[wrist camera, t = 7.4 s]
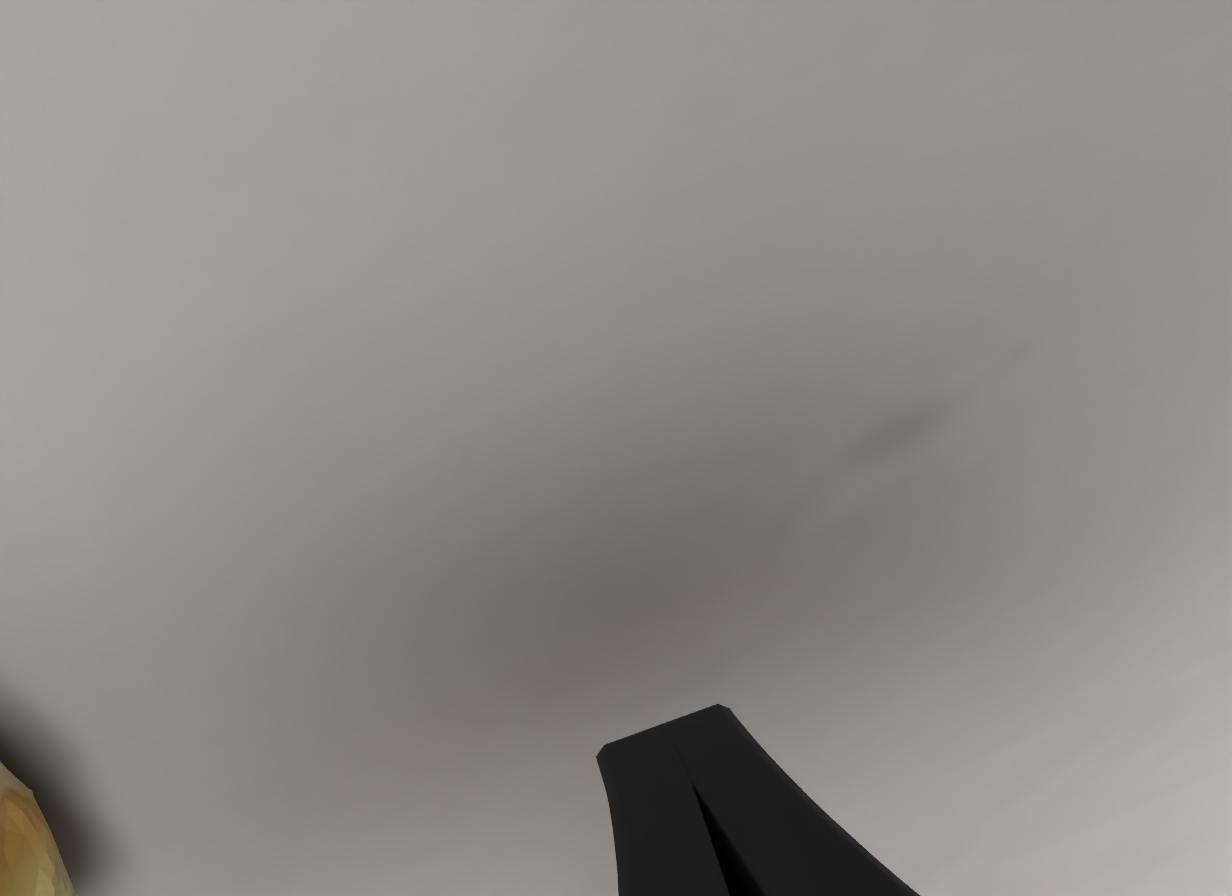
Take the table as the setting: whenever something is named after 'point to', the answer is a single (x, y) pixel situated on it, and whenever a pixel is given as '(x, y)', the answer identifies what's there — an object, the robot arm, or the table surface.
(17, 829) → the pastry
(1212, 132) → the table surface
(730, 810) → the robot arm
